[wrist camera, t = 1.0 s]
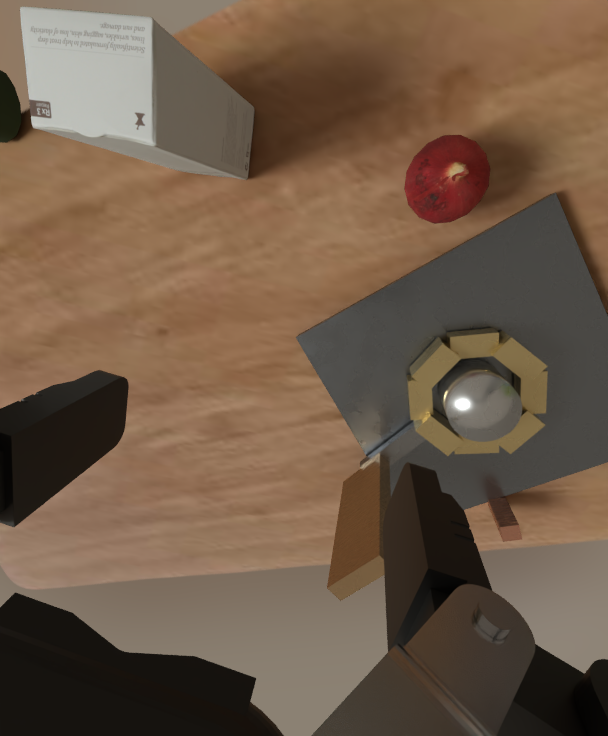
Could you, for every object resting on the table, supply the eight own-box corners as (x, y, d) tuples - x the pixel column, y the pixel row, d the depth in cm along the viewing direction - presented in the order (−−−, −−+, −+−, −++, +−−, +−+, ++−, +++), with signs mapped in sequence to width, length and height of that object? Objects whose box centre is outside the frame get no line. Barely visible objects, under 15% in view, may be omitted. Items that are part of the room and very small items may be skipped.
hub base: (550, 194, 30) (588, 183, 25) (660, 453, 35) (714, 494, 29) (297, 335, 38) (283, 351, 32) (415, 533, 42) (420, 577, 37)
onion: (433, 239, 33) (448, 239, 25) (387, 189, 32) (390, 173, 25) (491, 186, 31) (526, 168, 23) (444, 131, 30) (464, 95, 23)
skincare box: (256, 107, 32) (163, 7, 18) (249, 185, 34) (159, 147, 20) (165, 96, 33) (12, -8, 19) (163, 172, 35) (23, 127, 22)
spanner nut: (509, 301, 32) (598, 342, 19) (563, 416, 34) (677, 524, 21) (300, 404, 39) (259, 486, 26) (356, 495, 41) (344, 614, 28)
